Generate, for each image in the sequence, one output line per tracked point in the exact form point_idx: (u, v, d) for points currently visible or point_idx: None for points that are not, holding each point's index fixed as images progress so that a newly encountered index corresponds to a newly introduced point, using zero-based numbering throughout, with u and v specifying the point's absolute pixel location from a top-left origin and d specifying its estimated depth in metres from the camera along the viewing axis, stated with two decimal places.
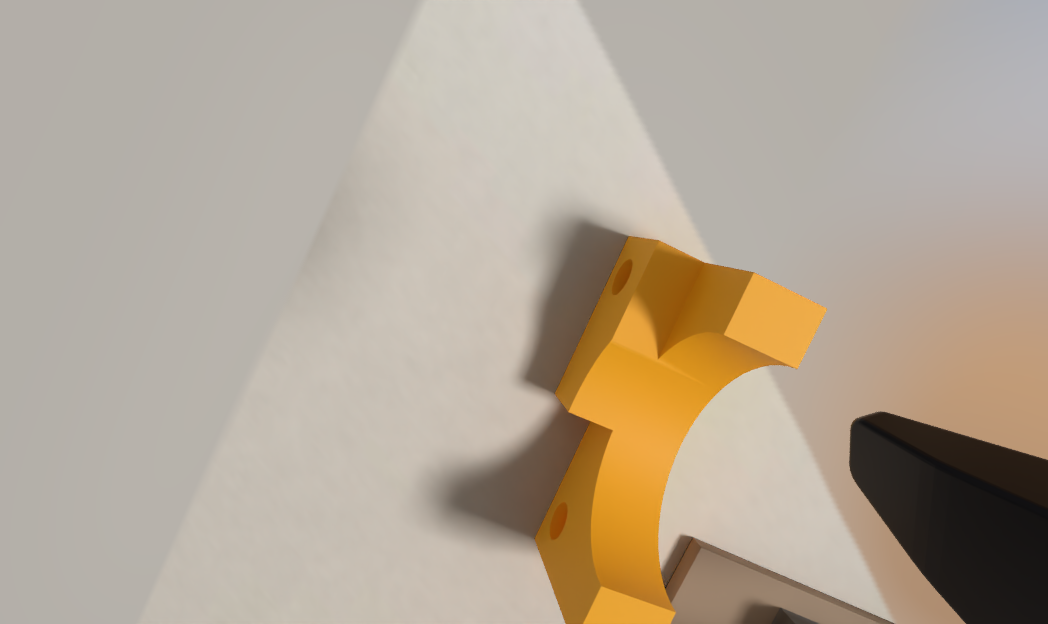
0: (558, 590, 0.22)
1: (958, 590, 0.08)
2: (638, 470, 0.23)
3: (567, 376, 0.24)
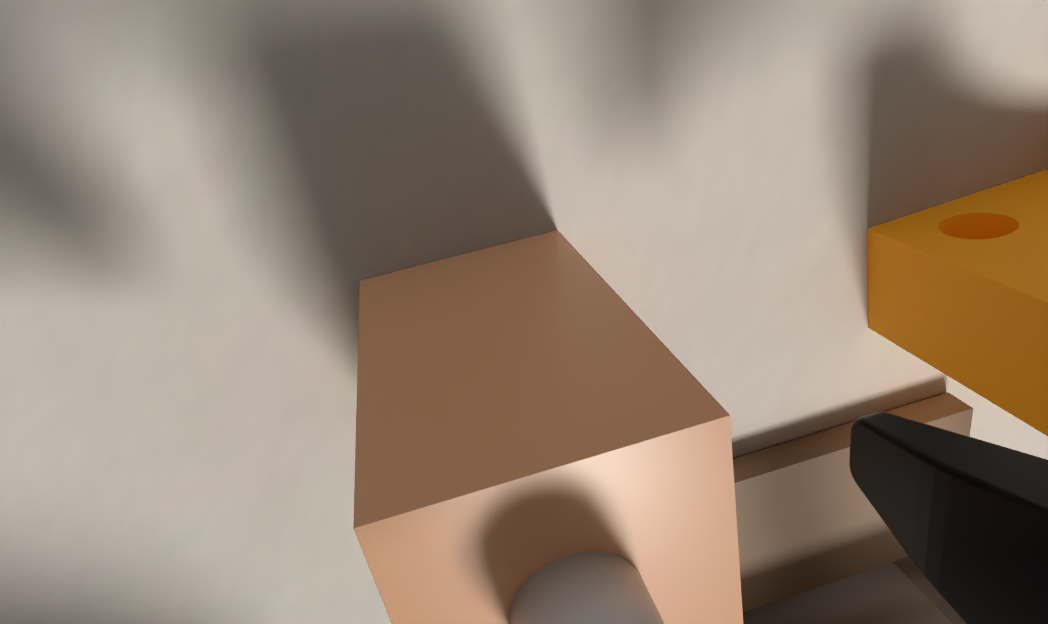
0: (1032, 287, 0.11)
1: (958, 590, 0.08)
2: None
3: None
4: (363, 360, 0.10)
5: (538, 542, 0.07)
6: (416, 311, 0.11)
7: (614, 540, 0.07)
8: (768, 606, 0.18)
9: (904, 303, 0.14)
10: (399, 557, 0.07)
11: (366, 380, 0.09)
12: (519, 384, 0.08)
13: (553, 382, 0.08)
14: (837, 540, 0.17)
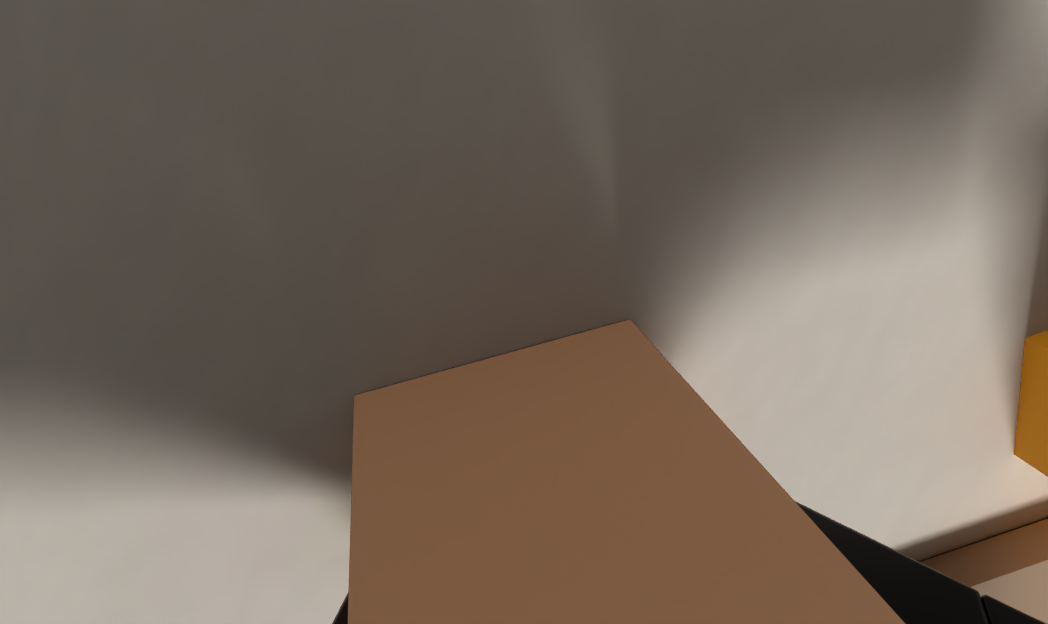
0: None
1: None
2: None
3: None
4: (358, 584, 0.06)
5: None
6: (438, 471, 0.07)
7: None
8: None
9: None
10: None
11: None
12: None
13: None
14: None
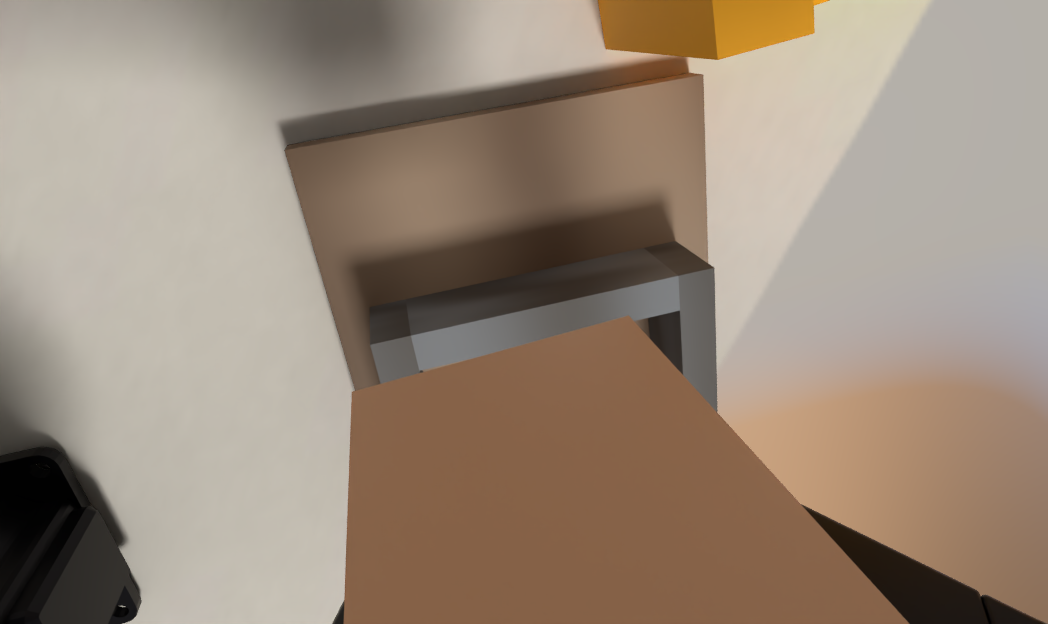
0: None
1: None
2: None
3: None
4: (354, 579, 0.06)
5: None
6: (435, 467, 0.07)
7: None
8: (518, 275, 0.19)
9: (613, 0, 0.16)
10: None
11: None
12: None
13: None
14: (582, 210, 0.18)
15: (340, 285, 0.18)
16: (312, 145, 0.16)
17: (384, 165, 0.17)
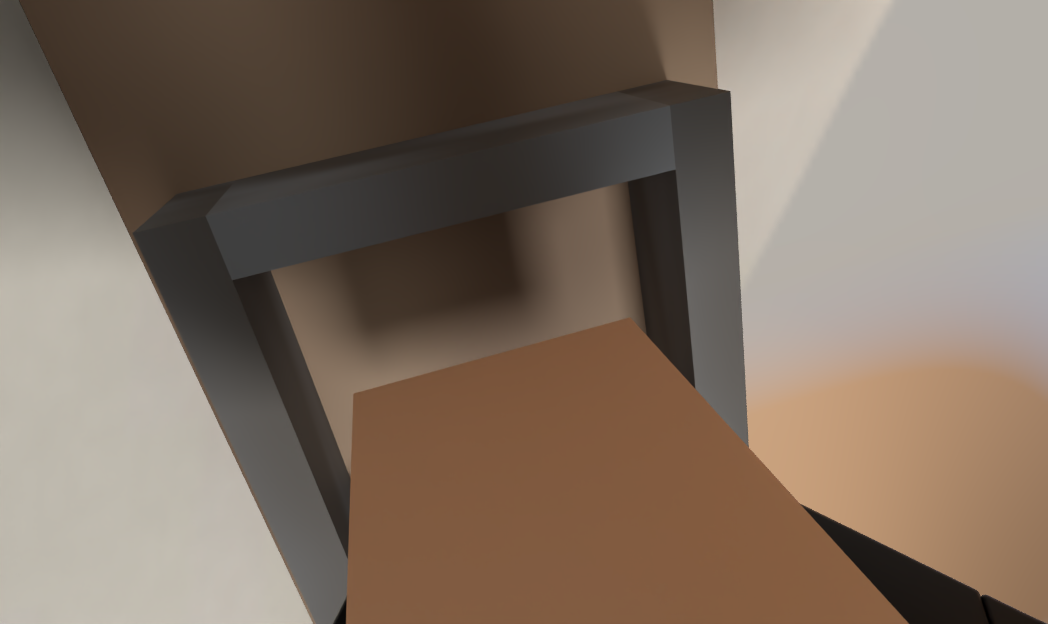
0: None
1: None
2: None
3: None
4: (356, 582, 0.06)
5: None
6: (437, 469, 0.07)
7: None
8: (418, 138, 0.12)
9: None
10: None
11: None
12: None
13: None
14: (513, 24, 0.11)
15: (120, 156, 0.11)
16: None
17: None
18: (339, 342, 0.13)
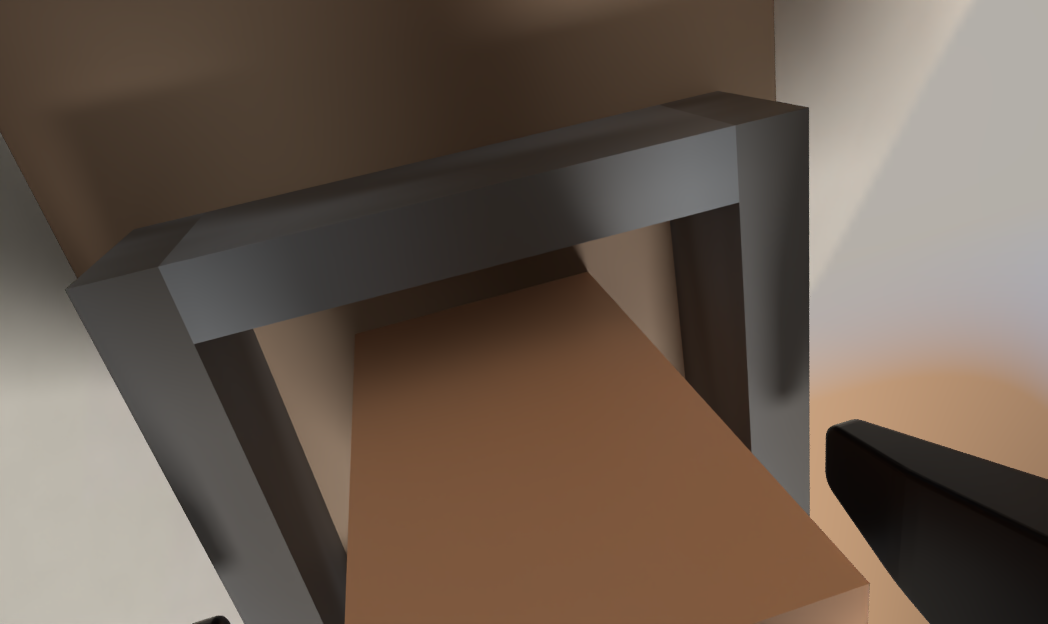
0: None
1: (930, 599, 0.08)
2: None
3: None
4: (357, 455, 0.08)
5: None
6: (422, 382, 0.09)
7: None
8: (423, 161, 0.10)
9: None
10: None
11: (360, 488, 0.07)
12: (561, 508, 0.06)
13: (609, 505, 0.06)
14: (538, 25, 0.10)
15: (63, 185, 0.09)
16: None
17: None
18: (331, 398, 0.11)
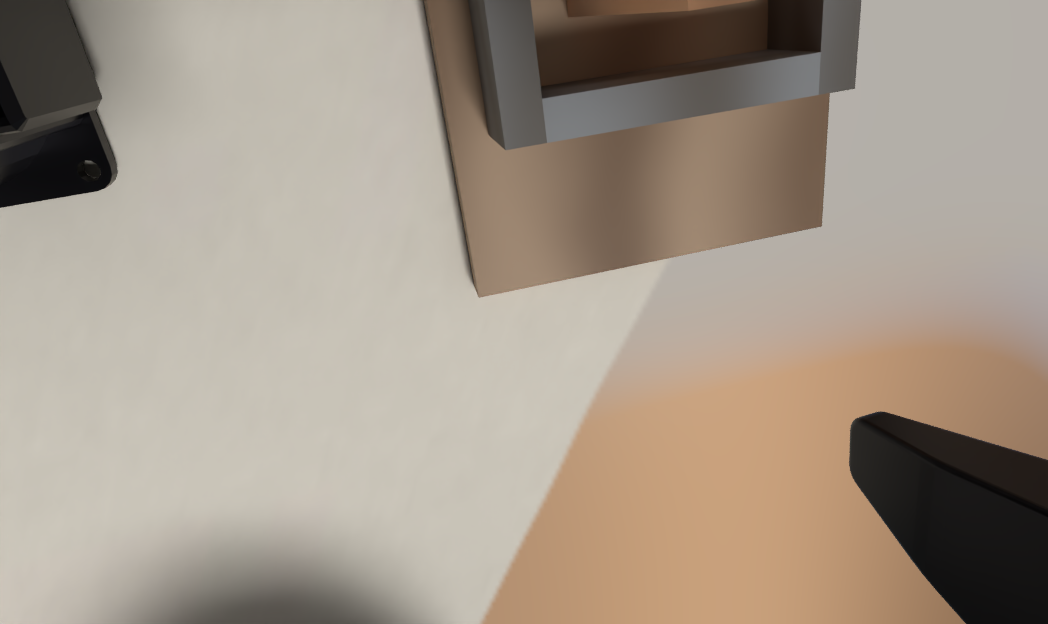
0: None
1: (958, 590, 0.08)
2: None
3: None
4: None
5: None
6: None
7: None
8: None
9: None
10: None
11: None
12: None
13: None
14: None
15: None
16: None
17: None
18: None
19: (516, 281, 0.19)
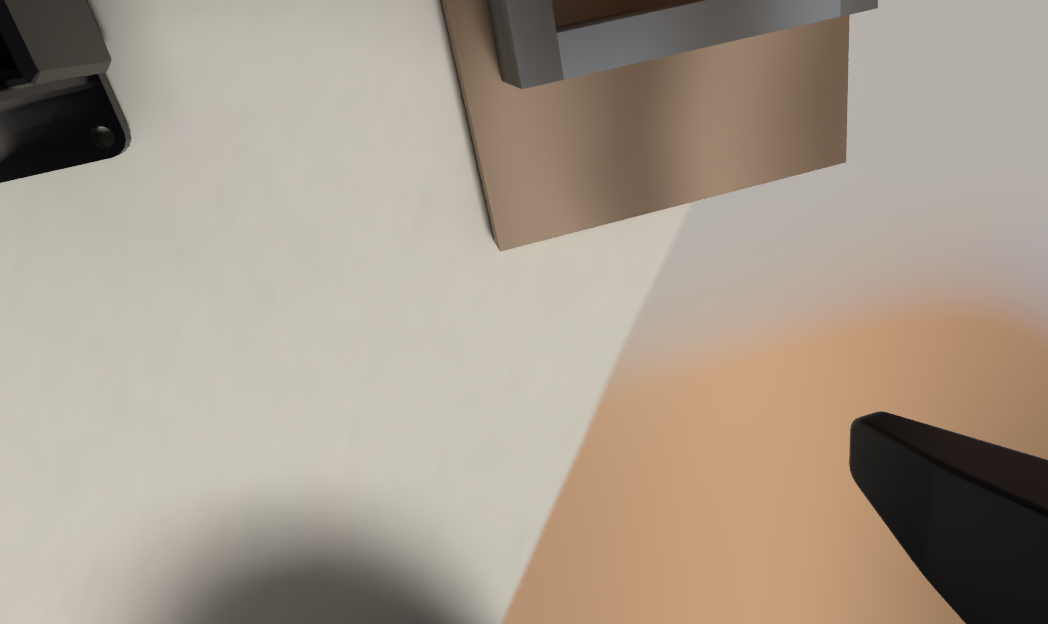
0: None
1: (958, 590, 0.08)
2: None
3: None
4: None
5: None
6: None
7: None
8: None
9: None
10: None
11: None
12: None
13: None
14: None
15: None
16: None
17: None
18: None
19: (536, 232, 0.19)
